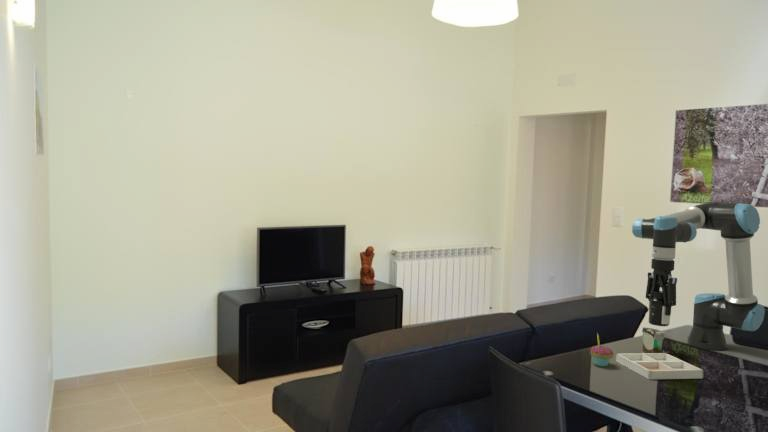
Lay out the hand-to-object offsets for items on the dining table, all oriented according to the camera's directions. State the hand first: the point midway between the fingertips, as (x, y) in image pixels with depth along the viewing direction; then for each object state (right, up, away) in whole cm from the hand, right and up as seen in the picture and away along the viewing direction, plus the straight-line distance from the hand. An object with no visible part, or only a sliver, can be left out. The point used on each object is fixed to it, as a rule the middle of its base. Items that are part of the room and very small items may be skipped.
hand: (658, 321), depth 215 cm
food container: (+11, -19, +26) cm, 34 cm away
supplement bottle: (0, -1, 0) cm, 1 cm away
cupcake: (-17, -19, +10) cm, 27 cm away
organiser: (+3, -19, +7) cm, 21 cm away
